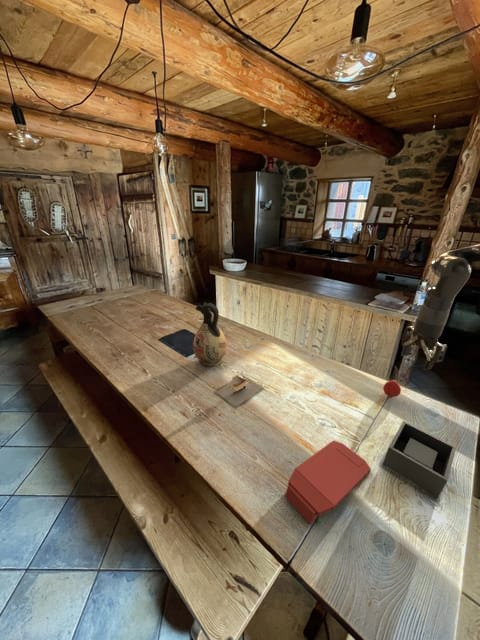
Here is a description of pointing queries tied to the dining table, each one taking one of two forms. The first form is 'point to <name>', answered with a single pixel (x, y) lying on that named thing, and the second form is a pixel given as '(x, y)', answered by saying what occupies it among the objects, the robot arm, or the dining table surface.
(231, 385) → the architectural model
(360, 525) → the dining table surface
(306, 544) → the dining table surface
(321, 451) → the carton
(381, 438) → the dining table surface
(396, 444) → the crate
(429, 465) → the block
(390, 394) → the onion
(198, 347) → the ceramic jug
